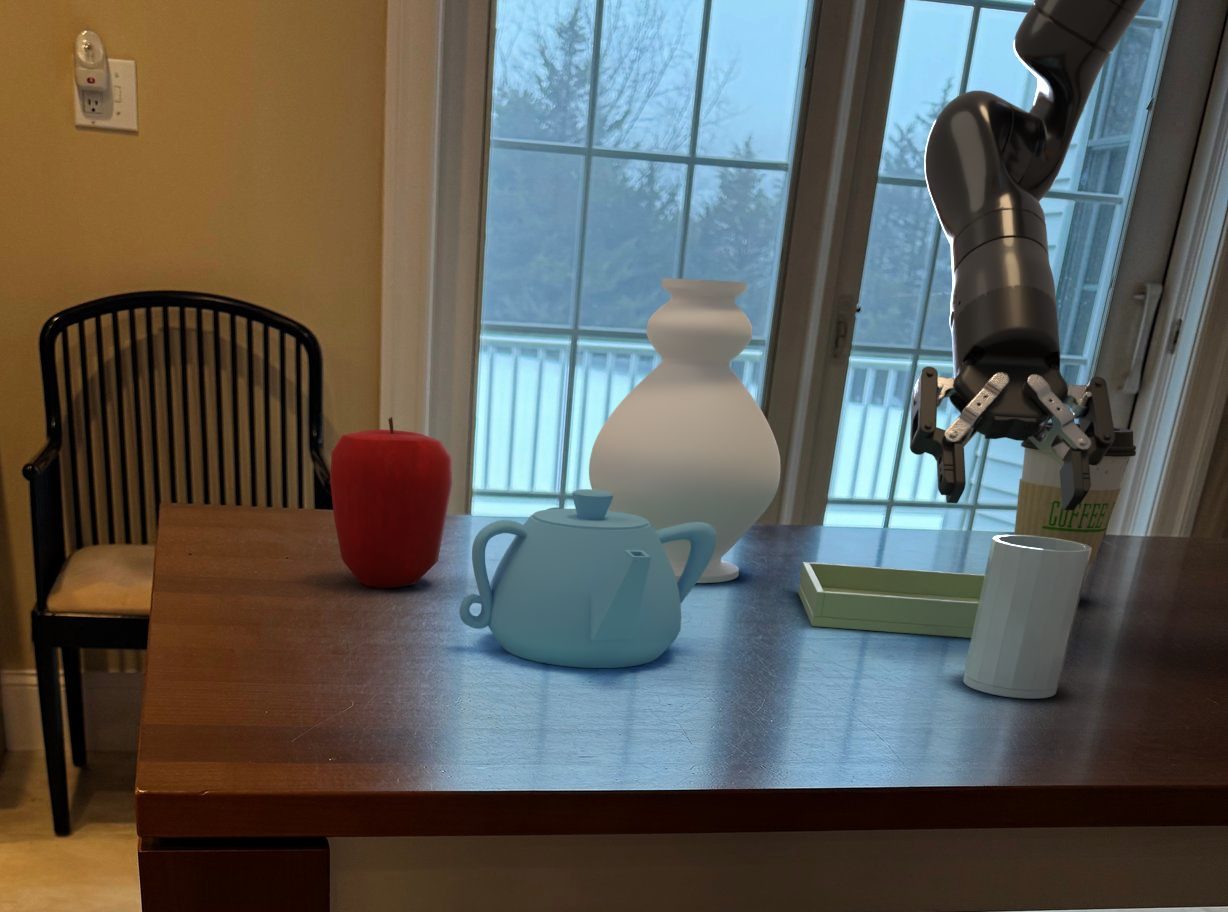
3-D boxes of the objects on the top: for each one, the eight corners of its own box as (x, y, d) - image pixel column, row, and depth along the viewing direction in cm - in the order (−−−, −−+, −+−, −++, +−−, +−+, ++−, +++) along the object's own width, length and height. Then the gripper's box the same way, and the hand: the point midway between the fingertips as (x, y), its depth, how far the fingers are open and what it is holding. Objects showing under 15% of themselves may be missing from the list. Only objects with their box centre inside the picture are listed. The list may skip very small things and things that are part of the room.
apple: (459, 595, 120) (467, 425, 114) (341, 595, 117) (342, 421, 111) (433, 571, 129) (438, 412, 123) (322, 570, 126) (322, 408, 120)
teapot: (718, 641, 109) (737, 489, 103) (633, 688, 95) (650, 516, 90) (541, 613, 115) (550, 468, 110) (437, 653, 101) (442, 490, 96)
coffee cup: (1088, 613, 126) (1131, 435, 119) (978, 597, 131) (1014, 424, 124) (1107, 597, 134) (1149, 429, 127) (1003, 582, 138) (1038, 419, 131)
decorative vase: (796, 589, 130) (841, 287, 118) (614, 588, 125) (643, 276, 114) (723, 554, 145) (757, 284, 133) (559, 553, 141) (579, 274, 129)
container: (1044, 679, 103) (1077, 538, 98) (1066, 702, 97) (1102, 554, 93) (955, 672, 104) (984, 532, 99) (972, 694, 98) (1004, 547, 93)
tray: (989, 607, 127) (996, 575, 125) (1024, 642, 114) (1032, 607, 113) (797, 593, 128) (802, 561, 127) (811, 626, 116) (817, 591, 114)
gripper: (925, 276, 103) (933, 459, 98) (1119, 287, 103) (1137, 471, 98) (895, 352, 110) (901, 526, 105) (1076, 362, 110) (1091, 538, 105)
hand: (1015, 500), depth 101 cm, fingers open, 8 cm apart
